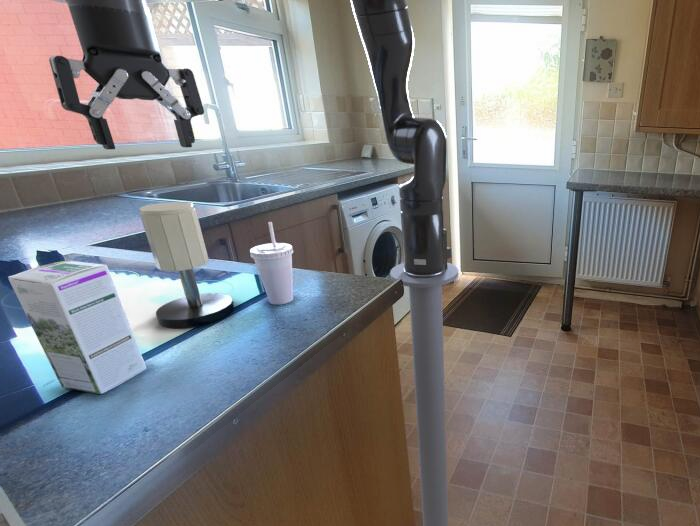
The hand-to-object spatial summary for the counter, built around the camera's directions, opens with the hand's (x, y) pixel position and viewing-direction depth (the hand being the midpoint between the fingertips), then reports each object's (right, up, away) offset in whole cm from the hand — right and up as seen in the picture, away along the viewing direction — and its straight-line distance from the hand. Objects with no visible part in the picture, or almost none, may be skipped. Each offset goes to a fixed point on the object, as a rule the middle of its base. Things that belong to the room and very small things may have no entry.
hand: (150, 148), depth 56 cm
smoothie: (+9, -22, +16) cm, 29 cm away
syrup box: (0, -31, -6) cm, 31 cm away
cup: (-1, -16, +7) cm, 17 cm away
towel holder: (-1, -24, +10) cm, 26 cm away
